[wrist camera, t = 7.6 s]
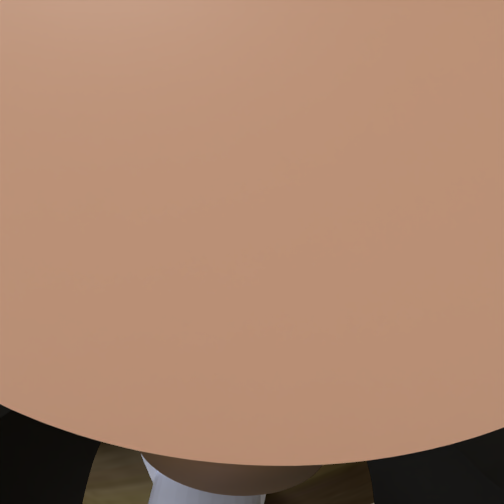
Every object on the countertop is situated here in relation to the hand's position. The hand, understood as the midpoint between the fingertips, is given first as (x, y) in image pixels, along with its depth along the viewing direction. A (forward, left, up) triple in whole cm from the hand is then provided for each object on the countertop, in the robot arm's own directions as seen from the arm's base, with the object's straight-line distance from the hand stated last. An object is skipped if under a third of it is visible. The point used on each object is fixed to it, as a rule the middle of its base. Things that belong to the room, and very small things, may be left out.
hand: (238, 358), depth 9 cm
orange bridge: (+8, +1, -3) cm, 9 cm away
